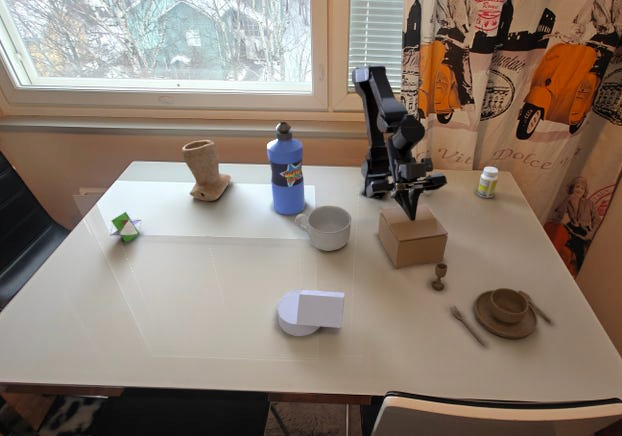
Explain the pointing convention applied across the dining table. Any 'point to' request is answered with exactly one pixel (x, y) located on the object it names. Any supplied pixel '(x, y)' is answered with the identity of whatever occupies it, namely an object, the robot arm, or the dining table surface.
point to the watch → (427, 192)
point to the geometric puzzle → (125, 227)
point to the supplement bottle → (488, 182)
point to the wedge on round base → (310, 311)
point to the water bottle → (286, 171)
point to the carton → (413, 241)
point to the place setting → (499, 309)
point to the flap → (400, 216)
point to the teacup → (327, 227)
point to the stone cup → (205, 170)
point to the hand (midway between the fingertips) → (413, 220)
